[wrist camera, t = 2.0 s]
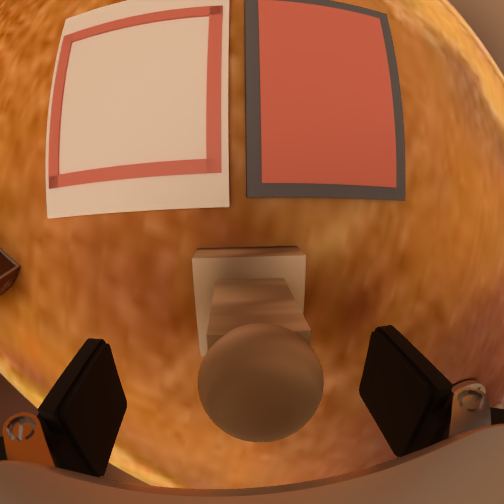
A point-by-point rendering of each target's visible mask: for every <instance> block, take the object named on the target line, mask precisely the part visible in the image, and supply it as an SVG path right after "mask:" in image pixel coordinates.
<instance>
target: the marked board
mask: <svg viewBox="0 0 504 504" xmlns="http://www.w3.org/2000/svg"><path fill="white" fill-rule="evenodd" d="M229 7H230V0H128V1H123V2H119V3H115V4H112V5H108V6H104V7H101V8H98V9H94V10H91V11H88V12H85V13H82V14H79V15H76V16H73V17H71V18H68V19H66V21H65V24H64V28H63V32H62V36H61V40H60V44H59V49H58V53H57V58H56V63H55V68H54V74H53V80H52V87H51V94H50V102H49V111H48V122H47V137H46V200H47V215H48V219H49V218H58V217H69V216H79V215H91V214H103V213H116V212H131V211H147V210H164V209H185V208H212V207H229V206H230V203H229V124H228V78H229Z"/></svg>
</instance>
